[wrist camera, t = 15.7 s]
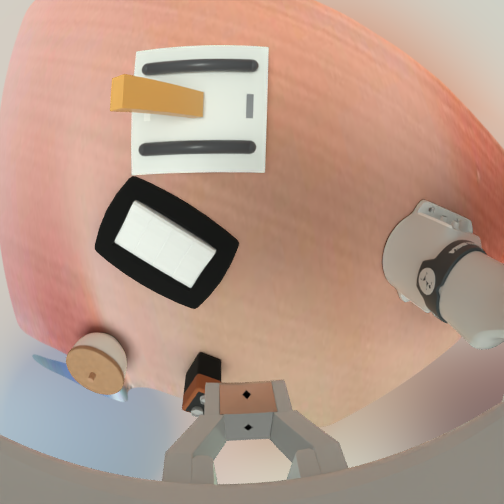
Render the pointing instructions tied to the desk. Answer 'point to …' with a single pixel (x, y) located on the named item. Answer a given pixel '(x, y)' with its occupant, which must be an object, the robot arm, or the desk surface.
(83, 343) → the lidded jar
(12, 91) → the desk surface
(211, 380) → the battery
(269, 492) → the robot arm
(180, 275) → the black picture frame
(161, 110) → the lever
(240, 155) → the box
